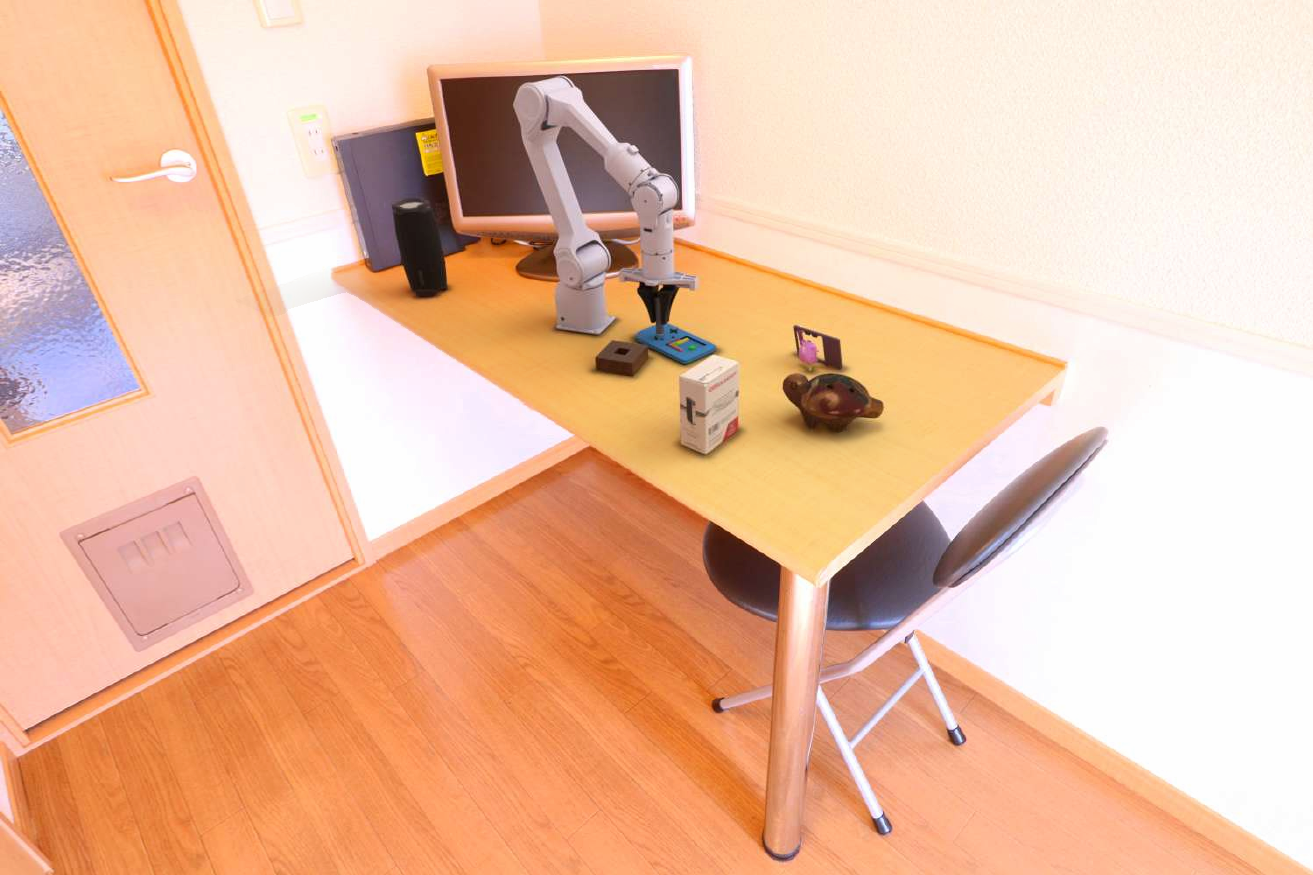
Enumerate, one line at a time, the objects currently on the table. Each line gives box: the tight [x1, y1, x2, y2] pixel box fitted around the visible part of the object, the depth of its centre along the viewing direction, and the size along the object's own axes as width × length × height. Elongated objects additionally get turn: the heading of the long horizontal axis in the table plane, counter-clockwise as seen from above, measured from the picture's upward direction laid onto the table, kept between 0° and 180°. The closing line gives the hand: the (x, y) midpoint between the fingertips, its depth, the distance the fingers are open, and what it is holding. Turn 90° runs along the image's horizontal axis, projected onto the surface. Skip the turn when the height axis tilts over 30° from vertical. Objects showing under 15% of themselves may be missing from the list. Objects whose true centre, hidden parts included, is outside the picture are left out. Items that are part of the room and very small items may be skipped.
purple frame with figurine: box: [792, 324, 844, 372], centre depth 123 cm, size 7×5×9 cm
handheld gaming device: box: [635, 322, 717, 365], centre depth 133 cm, size 8×1×15 cm
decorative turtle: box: [782, 372, 885, 433], centre depth 108 cm, size 10×15×8 cm, turn 84°
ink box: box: [678, 354, 740, 455], centre depth 104 cm, size 8×5×12 cm, turn 140°
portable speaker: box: [391, 196, 448, 298], centre depth 154 cm, size 9×9×20 cm
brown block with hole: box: [594, 339, 649, 377], centre depth 127 cm, size 7×7×3 cm
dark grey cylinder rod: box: [654, 292, 665, 340], centre depth 131 cm, size 2×2×9 cm
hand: (659, 321), depth 132 cm, fingers closed on dark grey cylinder rod, 1 cm apart
